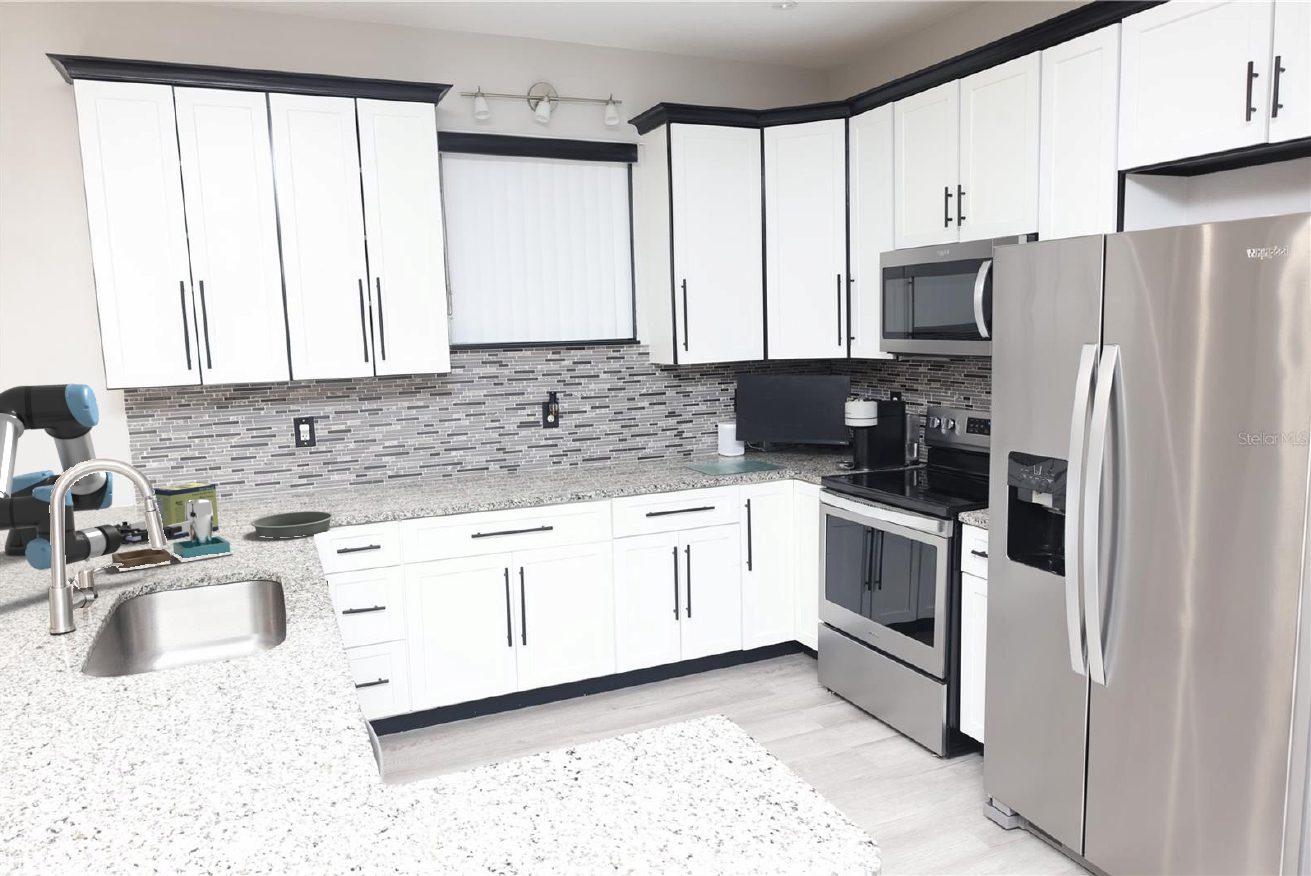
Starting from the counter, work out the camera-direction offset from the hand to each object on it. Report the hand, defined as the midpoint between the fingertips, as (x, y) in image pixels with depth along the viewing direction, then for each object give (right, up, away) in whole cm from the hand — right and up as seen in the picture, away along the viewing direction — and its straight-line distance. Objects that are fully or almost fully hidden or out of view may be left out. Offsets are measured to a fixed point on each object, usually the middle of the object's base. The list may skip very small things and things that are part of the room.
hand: (170, 524), depth 233 cm
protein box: (-18, -7, +41) cm, 46 cm away
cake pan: (+17, -7, +41) cm, 44 cm away
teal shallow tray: (+4, -10, +10) cm, 14 cm away
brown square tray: (-8, -11, 0) cm, 14 cm away
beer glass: (+4, -9, +10) cm, 14 cm away
